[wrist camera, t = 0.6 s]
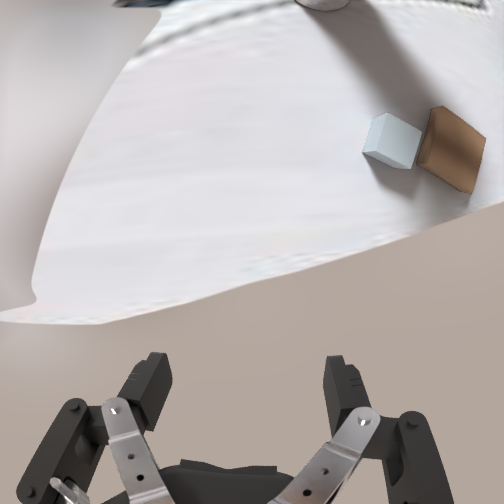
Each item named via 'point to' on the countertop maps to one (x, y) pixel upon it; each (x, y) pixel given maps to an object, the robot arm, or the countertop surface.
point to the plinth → (452, 149)
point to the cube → (392, 141)
